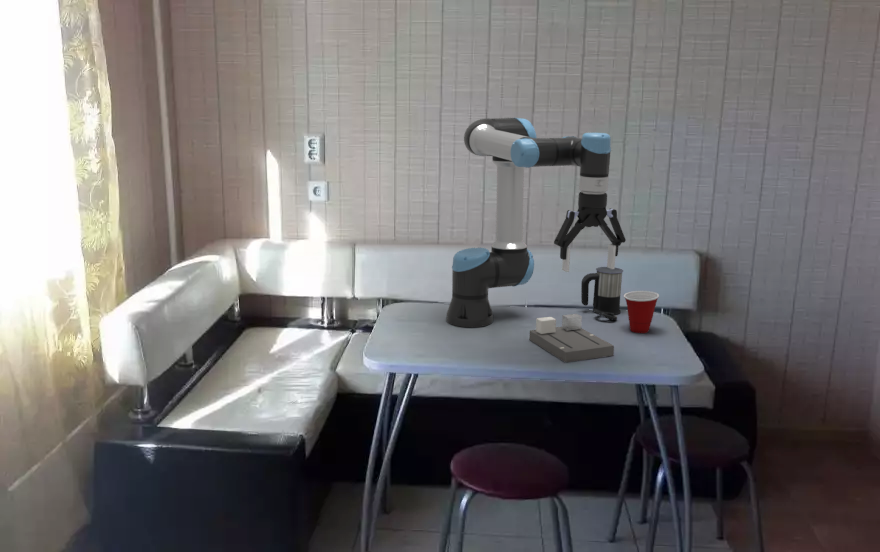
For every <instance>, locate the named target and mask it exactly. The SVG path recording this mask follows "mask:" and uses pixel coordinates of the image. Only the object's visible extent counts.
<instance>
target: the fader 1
mask: <svg viewBox="0 0 880 552" xmlns="http://www.w3.org/2000/svg"><path fill="white" fill-rule="evenodd" d="M556 325H557V319H556V318H554V317H552V316H547V317H537V318H536V322H535V330H536V331H537V332H538V333H540V334H545V333H553V332H555V331H556V327H557V326H556Z"/></svg>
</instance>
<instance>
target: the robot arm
mask: <svg viewBox="0 0 880 552" xmlns="http://www.w3.org/2000/svg"><path fill="white" fill-rule="evenodd" d="M463 143H464V145H465V148H466V149H467V151H468V152H470V153H472V154H473V155H476V156H479V157H492V162H493V164H495V166H496V220H495V221H496V225H495V226H496V230H495V231H496V233H495V241H494V242H493V243H492V244H491V251H490V250H489V249H487V248H485V247H469V248H464V249H461V250H459V251H457V252H456V253H455V254H454V255H453V259H452V265H451V269H452V281H451V282H452V284H451V285H452V289H451V290H452V291H451V292H452V293H451V295H452V296H451V300H450V302H449V305H448V308H447V311H446V322H447V323H448V324H450V325H452V326H455V327H461V328H480V327H481V328H482V327H486V326H490V325H491V324H492V323H493V322H494V315H493V311H492V307H491V304H490V301H489V289H494V288H505V287H506V288H507V287H517V286H522V285H523V286H524V285H525V284H527V283H528V282H529V281H530V280H531V278H532V277H533V275H534V274H533V273H534V270H535V260H534V258H533V257H534V255H533V253H532V251H530V250H529V249H528V245H527V244H526V243H525V242H524V240H523V239H524V238H523V237H524V232H523V231H524V230H523V229H524V197H525V196H524V192H525V191H524V189H525V188H524V187H525V183H524V182H525V168H528V169H529V168H535V167H536V168H537V167H559V166H560V167H561V166H562V167H565V166H575V167H579V181H578V182H579V183H578V184H579V185H578V190H579V191H580V192H578V200H577V201H578V202H577V206H578V208H577V210H576V211H575V210H571V209H568V210H567V211H566V216H565V219H564V221H563V223H562V225H561V227H560V229H559V231H558V233H557V235H556V237H555V239H554V240H553V244H554V245H556V246H558V247H559V248H560V253H559V255H560V256H559V258H560V259H561V260H562V265H561V266H562V267H561V271H564V272H565V273H569V272H570V261H571V248H570V247H569V246H570V245H571V244H572V243H573V241H574V240H575V239H576V237H578V235H579V234H580V233H581V231H582V230H584V229H585V228H591V227H596V228H598V227H599V228H600V229H601V230H602V232H603V233H604V235H605V236H606V237H607V238H608V240H609V241H610V243H608V247H607V248H608V249H607V260H606V261H607V263H606V267H608V268H610V269H614V267H615V265H616V257H618V256H619V246H621V244H622V243H625V242H626V237H625V235H624V234H625V233H624V232H623V230H622V227H621V225H620V221H619V219H618V214H617V213H618V211H617V209H615V208H612V207H611V208H609V209H607V205H608V204H607V203H608V193H607V192H608V188H609V173H610V161H611V151H612V147H611V145H612V144H611V136H610V134H609V133H606V132H585V133H583V134H582V137H581V138H580V137H577V136H573V135H572V136H569V135H568V136H566V135H565V136H562V137H553V138H552V137H549V138H543V137H542V138H540V137H539V138H538V137H537V133H536V130H535V127H534V125H533V123H531V121H530V120H528V119H527V118H523V117H521V118H520V117H507V118H506V117H504V118H503V117H501V118H495V117H494V118H489V117H488V118H481V119H478V120H474V121H473V122H472V123H471V124H469V125H468V126H467V128H466V130H465V131H464V135H463ZM606 217H608V219H609V221H610V224H611V226H612V229H613V231H612V230H611V229H610V227H609V226H608V224H607V222H606V221H605V218H606ZM575 219H577V220H576V221H575ZM574 221H575V223H574ZM573 223H574V225H573ZM572 225H573V226H572ZM571 227H572V228H571ZM613 232H614V233H613Z"/></svg>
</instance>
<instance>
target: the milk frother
mask: <svg viewBox="0 0 880 552" xmlns="http://www.w3.org/2000/svg"><path fill="white" fill-rule="evenodd" d="M595 271H596V272H591V273H587V274H585V275H584V276H583V277H582V280H581V289H580V290H581V291H580V292H581V296H580V297H581V304H582V305H583V306H588V304H589V285H590V282H591V281H594V285H593V286H594V288H593V299H592V300H593V301H592V307H593V308H592V312H593V313H596V314H598V315H600V316H602V317H603V318H606V319H607V320H609V321H610V322H611V321H612V320H616V321H617V320H618V315H619V314H621V311H620V308H621V305H620V304H621V291H622V282H623V281H622V280H623V272H624V270H623V269H621V268H619V267H615V266H614V269H610V268H608V267H607V266H599V267H596V268H595Z"/></svg>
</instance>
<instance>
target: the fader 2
mask: <svg viewBox="0 0 880 552" xmlns="http://www.w3.org/2000/svg"><path fill="white" fill-rule="evenodd" d="M561 320H562V321H561V327H562V328H563V329H565V330H566V331H569V330H577V329H581V328H582V320H583V315H580V314H578V313H573V314H563V315H562V319H561Z"/></svg>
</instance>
